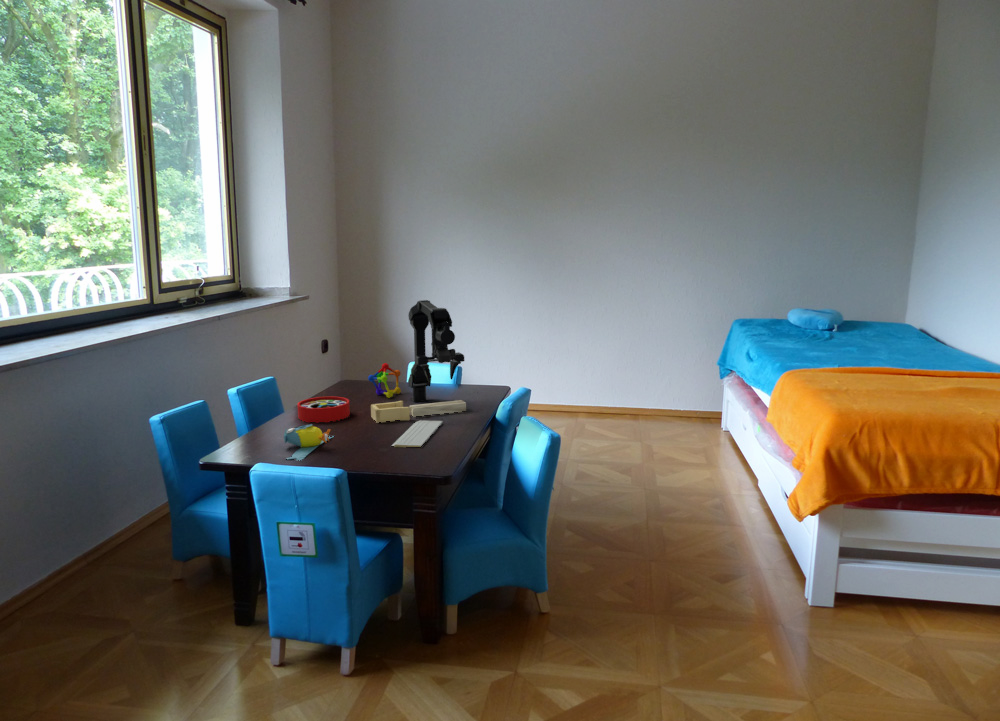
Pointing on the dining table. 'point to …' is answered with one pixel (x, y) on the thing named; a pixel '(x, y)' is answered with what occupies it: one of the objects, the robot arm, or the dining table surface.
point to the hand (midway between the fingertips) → (440, 380)
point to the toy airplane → (305, 439)
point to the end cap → (390, 412)
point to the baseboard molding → (418, 433)
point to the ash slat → (437, 408)
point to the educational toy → (383, 378)
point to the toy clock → (323, 409)
